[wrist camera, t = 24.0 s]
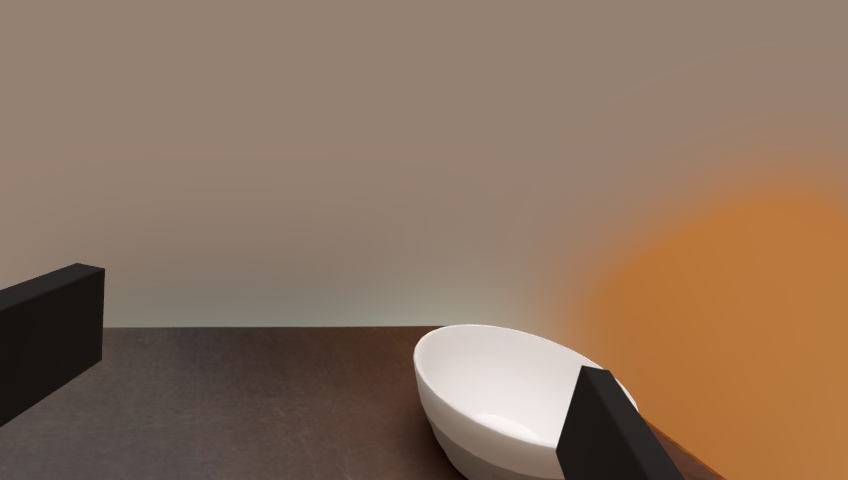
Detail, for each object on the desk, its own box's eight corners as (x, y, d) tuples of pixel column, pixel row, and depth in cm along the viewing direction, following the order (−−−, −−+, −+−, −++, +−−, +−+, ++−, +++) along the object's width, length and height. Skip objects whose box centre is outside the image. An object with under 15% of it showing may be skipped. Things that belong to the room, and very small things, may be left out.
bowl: (522, 386, 55) (539, 322, 53) (661, 518, 38) (694, 432, 36) (368, 399, 46) (382, 324, 45) (461, 578, 30) (490, 470, 28)
